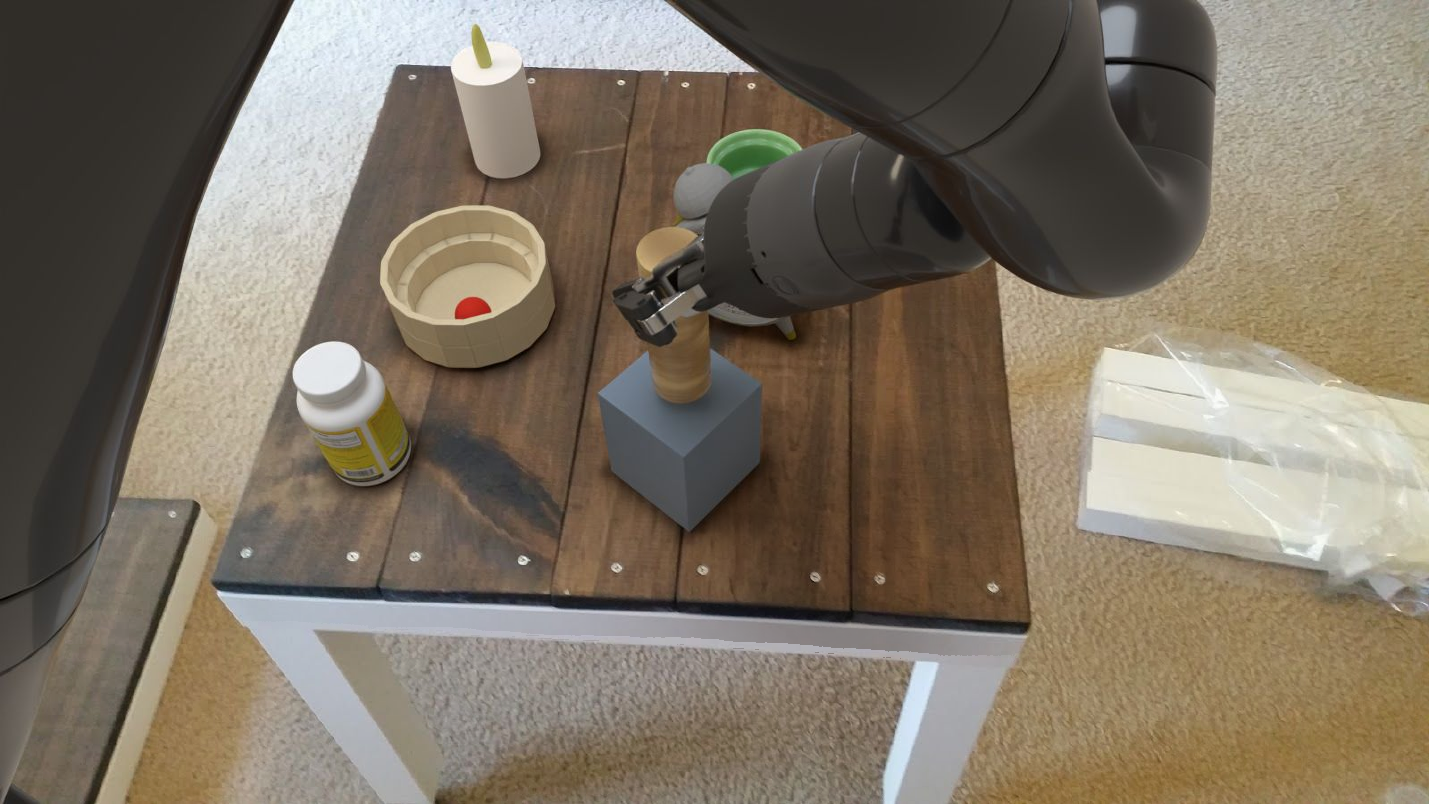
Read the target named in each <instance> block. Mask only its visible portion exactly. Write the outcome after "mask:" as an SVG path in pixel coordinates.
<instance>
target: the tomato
mask: <svg viewBox="0 0 1429 804" xmlns="http://www.w3.org/2000/svg"><path fill="white" fill-rule="evenodd" d="M491 312H492V311H491V308H490V306H489V305H488V303H487V302H486V301H484V300H483V299H481V298H478V297H468V298H465V299H463V300H462V301H460V302H459V304H458V305H457V307H456V309H455V319H467V318H471V317H475V316H479V315H483V314H487V313H491Z"/></svg>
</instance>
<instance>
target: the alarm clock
mask: <svg viewBox="0 0 1429 804" xmlns="http://www.w3.org/2000/svg"><path fill="white" fill-rule="evenodd" d="M732 180H734V179H733V178H732V176H731V175H730V173H729V172H728V171H726V170H725V169H724V168H722V167H720V166H718V165H716V164H710V163H707V162H703V163H697V164H696V163H695V164H694V165H692V166H688V167H687V168H686V169H684V171H683V172H682V173H681V174H680V176H679V177H678V178H677V180H676V182H675V185H674V188H673V196H672V197H673V198H672V199H673V204H674V207H675V209H676V211H677V213H678V215H677V217H676V219H675V220H674V223H673V224H672V226H671V227H679V228H684V229H687V230H690V231H692V232H694V233H695V234H697V233H698V232H699V231H700V230H701V227H703V226H704V225H705V221H706V217H707V214H708V211H709V208H710V206H711V204H712V202H713V200H714V199H715V197H716V196H717V194H718V193H719V192H720V191H721V190H722V189H723V188H724V187H725V186H726V185H727V184H728V183H730V182H731V181H732ZM708 316H711V317H712V318H715V319H718V320H721V321H723V322H727V323H729V324H734V325H739V326H743V327H761V326H762V327H763V326H764V327H765V326H772V325H776V327H778V329H779V330H780V331H781V332H782V334H783V335H784V336H785V337H786V338H787V340H789V341H792V340H794V339H795V338H797V335H796V330H795V328H794V325H793V321H792V318H791V316H786V317H781V318H762V317H758V316H754V315H751V314H749V313H747V312H744V311H742V310H740V309H738V308H736V307H734V306H732V305H731V306H729V307H726V308H719V307H714V308H712V309H709V310H708Z"/></svg>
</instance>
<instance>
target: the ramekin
mask: <svg viewBox="0 0 1429 804" xmlns="http://www.w3.org/2000/svg"><path fill="white" fill-rule="evenodd" d="M803 149H804V148H803V147H802V146H801V145H800V144H799V143H798V142H797V141H796V140H795V139H793V138H792V137H790V136H788V135H787V134H783V133H781V132H778V131H776V130H770V129H763V128H762V129H761V128H758V129H757V128H753V129H750V128H749V129H744V130H740V131H735V132H732V133H730V134H728V135H726V136H724V137H723V138H721V139H719V140H718V141H716V143H715V144H714V145H713V146H712V147H711V149H710V150H709V152H708V154H707V157H706V163H710V164H716V165H718V166H720V167H722V168H724V169H725V170H726V171H728V172H729V173H730V175H731V176H732V178H733V179H736V178H738V177H740V176H742V175H745V174H747V173H749V172H752V171H754V170H756V169H759V168H761V167H763V166H765V165H768V164H770V163H773V162H775V161H777V160H780V159H782V158H784V157H787V156H789V155H791V154H794V153H796V152H798V151H801V150H803Z"/></svg>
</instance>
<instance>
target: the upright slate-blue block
mask: <svg viewBox="0 0 1429 804" xmlns="http://www.w3.org/2000/svg"><path fill="white" fill-rule="evenodd" d="M710 355H711V373H712V382H711V385H710V388H709V389H708V391H707V392H706V393H705V394H704V395H703V396H702V397H701V398H699V399H697V400H695V401H692V402H688V403H673V402H669V401H667V400H665V399H663V398H661V397H660V396H659V395H658V394H657V393H656V391H655V390H654V388H653V384H652V377H651V369H650V361H649V353H648V350H646V351H645V352H644V353H643V354H642V355H640V356H639V357H638V358H637V359H636V360H634V361H633V362H632V363H631V364H630V365H629V366H628V367H626V368H625V369H624V370H623V371H622V372H620V374H618V375H617V376H616V377H615V378H614V379H612V380H611V381H610V382H609V383H608V384H606V386H604V387H603V388H602V389H600V391H598V392H597V397H598V404H599V409H600V414H601V420H602V425H603V431H604V436H605V442H606V448H607V453H608V459H609V465H610V470H611V473H613V474H614V475H616V476H617V477H618V478H619V479H620V480H622V481H623V482H625V483H626V484H627V486H629V487H631V488H632V489H633V490H635V491H636V492H637V493H638V494H640V495H641V496H642V497H643V498H645V499H646V501H648V502H649V503H651V504H652V505H654V506H655V507H656V508H657V509H658V510H660V511H661V512H662V513H663V514H665V515H666V516H668V517H669V518H670V519H671V520H673V521H674V522H675V523H677V524H678V525H679V526H681V528H683V529H684V530H685V531H687V532H688V533H690V532H691V531H692V530H693V529H694V528H695V527H697V526H698V524H700V522H702V520H704V519H705V518H706V516H707V515H708V514H710V513H711V512H712V510H713V509H715V507H717V506H718V504H719V503H721V502H722V501H723V500H724V498H726V497H727V496H728V495H729V494H730V493H731V492H732V491H733V490H734V489H735V488H736V487H737V486H738V485H739V484H740V483H741V482H742V481H743V480H744V479H745V478H746V477H747V476H748V475H749V474H750V473H751V472H752V471H753V470H755V468H756V467H757V466H758V465H759V464H760V462H761V438H762V437H761V434H762V433H761V432H762V408H763V407H762V404H763V383H762V382H760V381H759V380H758V379H756V378H755V377H753V376H752V375H750V374H749V373H747V372H746V371H745V370H743V369H741V368H740V367H739V366H737V365H735V364H734V363H733V362H732V361H730V360H729V359H727V358H726V357H724V356H723V355H721V354H720V353H718V352H717V351H715V350H714V349H713V348H711V347H710Z"/></svg>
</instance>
